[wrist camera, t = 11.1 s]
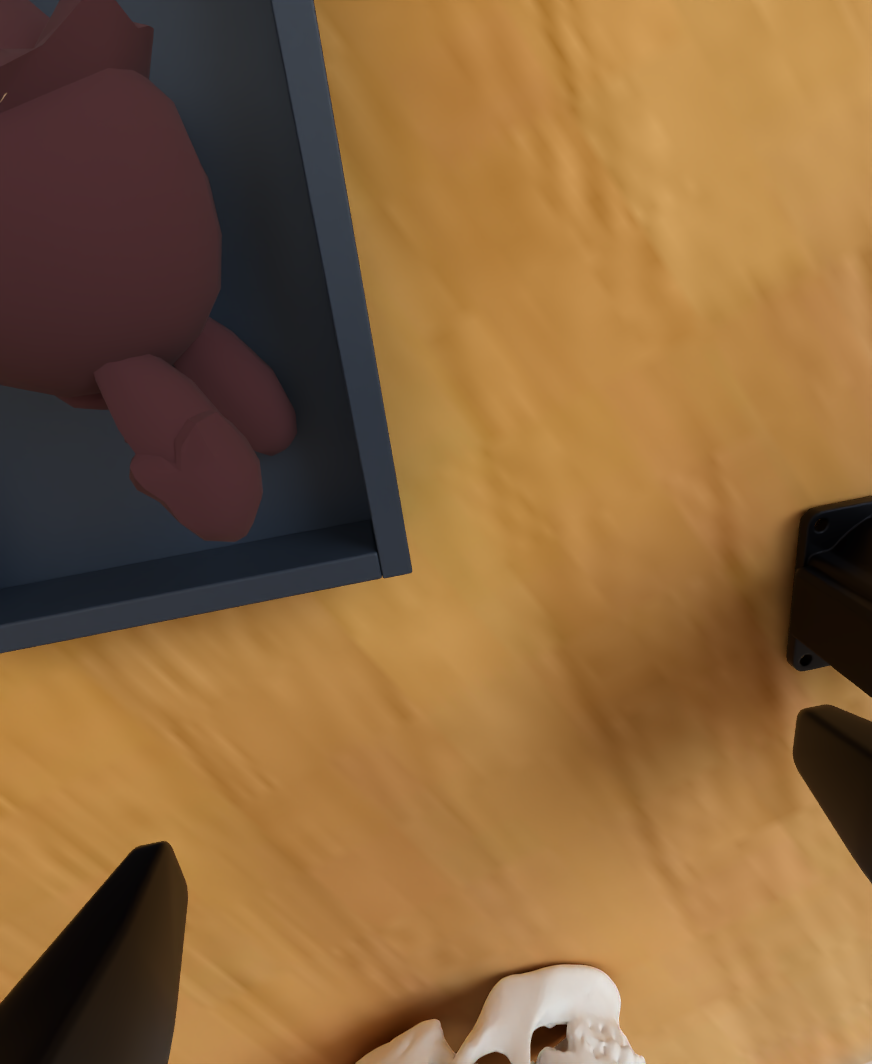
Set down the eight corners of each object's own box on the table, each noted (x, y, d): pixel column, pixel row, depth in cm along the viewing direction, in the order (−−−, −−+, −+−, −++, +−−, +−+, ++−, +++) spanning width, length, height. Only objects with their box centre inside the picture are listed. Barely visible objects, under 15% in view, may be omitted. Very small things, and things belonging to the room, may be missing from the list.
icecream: (-1089, -329, 6) (93, 646, 13) (-918, -1299, 4) (387, 496, 11) (-344, -119, 12) (200, 482, 19) (-106, -464, 10) (408, 362, 17)
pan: (232, -426, 12) (201, -647, 9) (400, 530, 20) (412, 573, 17) (-521, -388, 11) (-830, -627, 8) (-24, 610, 18) (-88, 672, 16)
